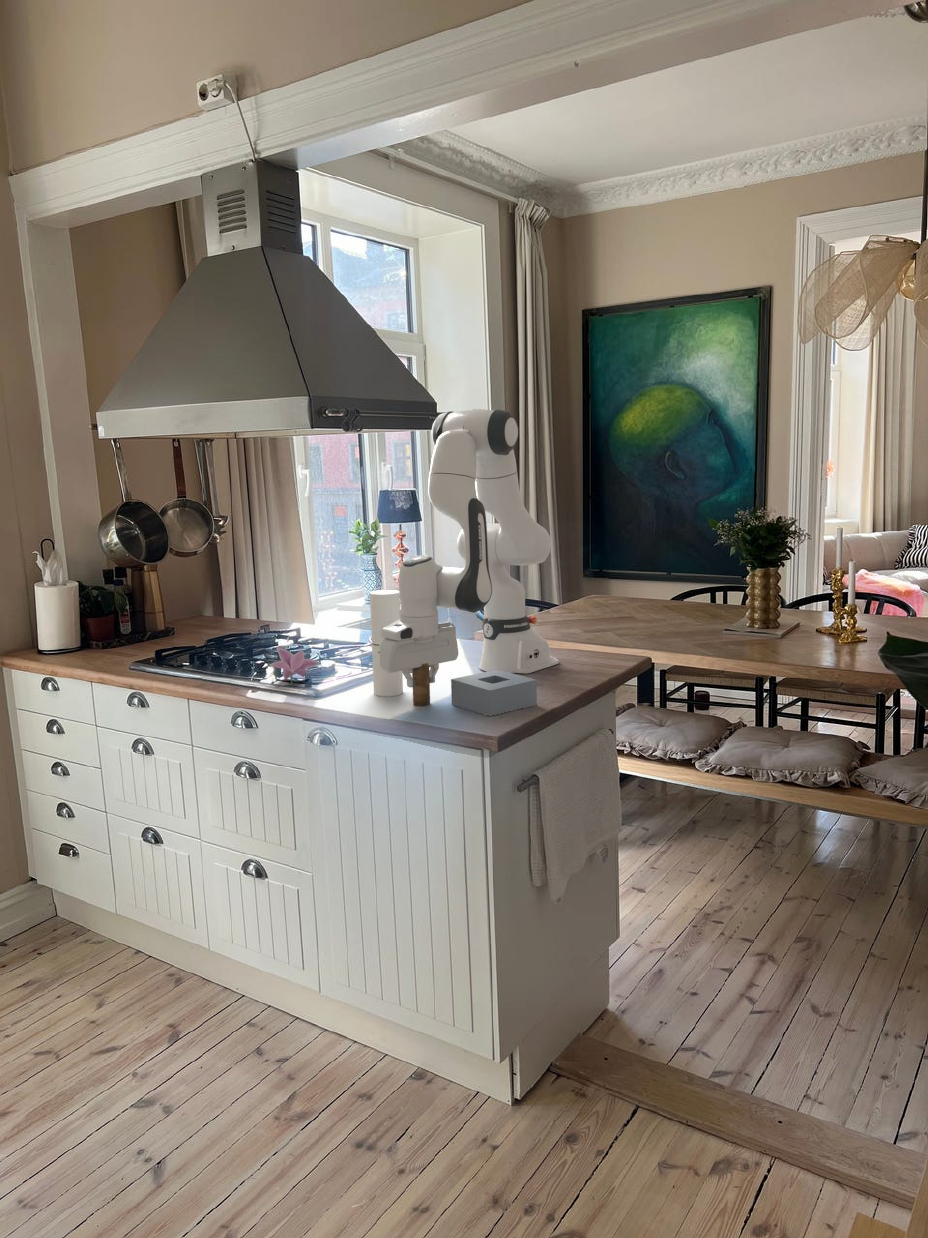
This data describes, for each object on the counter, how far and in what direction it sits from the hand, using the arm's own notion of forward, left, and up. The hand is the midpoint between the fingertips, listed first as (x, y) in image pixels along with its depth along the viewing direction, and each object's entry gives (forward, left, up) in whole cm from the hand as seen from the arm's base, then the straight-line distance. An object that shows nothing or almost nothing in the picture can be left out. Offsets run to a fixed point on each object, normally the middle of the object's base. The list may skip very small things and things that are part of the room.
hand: (421, 684), depth 216 cm
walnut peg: (0, 0, -5) cm, 5 cm away
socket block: (-12, +12, -5) cm, 18 cm away
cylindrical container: (0, -14, -5) cm, 15 cm away
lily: (+12, -39, -5) cm, 42 cm away
